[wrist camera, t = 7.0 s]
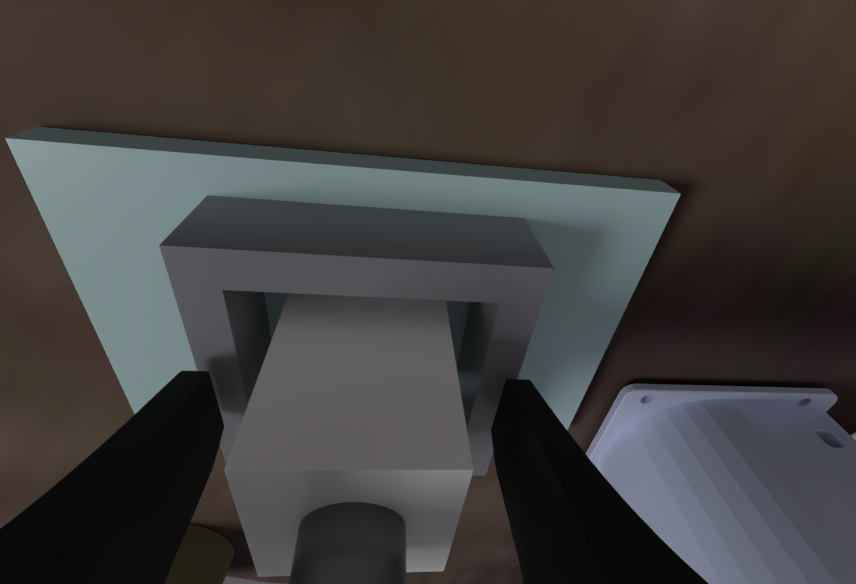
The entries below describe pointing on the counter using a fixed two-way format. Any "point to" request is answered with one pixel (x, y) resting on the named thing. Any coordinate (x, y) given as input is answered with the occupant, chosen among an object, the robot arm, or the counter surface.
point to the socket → (338, 257)
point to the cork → (201, 558)
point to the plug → (353, 443)
